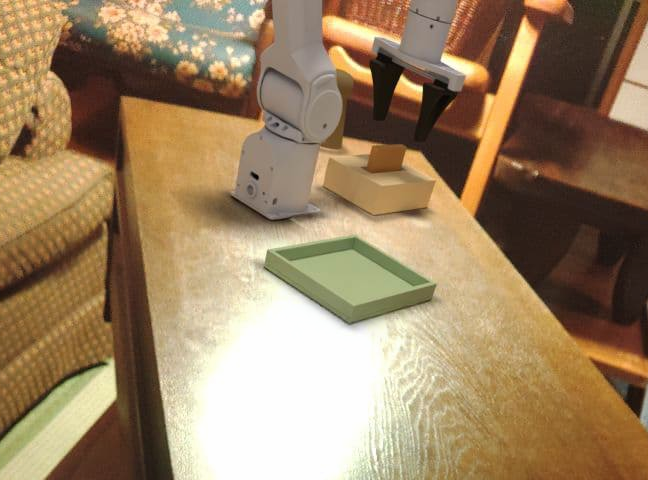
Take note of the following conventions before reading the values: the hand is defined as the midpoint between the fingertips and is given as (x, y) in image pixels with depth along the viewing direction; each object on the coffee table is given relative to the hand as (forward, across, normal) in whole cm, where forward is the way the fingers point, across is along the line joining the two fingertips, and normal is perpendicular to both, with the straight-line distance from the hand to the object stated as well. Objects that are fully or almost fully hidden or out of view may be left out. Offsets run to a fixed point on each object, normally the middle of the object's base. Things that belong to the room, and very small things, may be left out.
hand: (398, 130), depth 104 cm
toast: (+9, 0, +2) cm, 9 cm away
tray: (+10, -18, +28) cm, 34 cm away
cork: (+10, +20, -8) cm, 23 cm away
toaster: (+9, 0, +2) cm, 10 cm away
